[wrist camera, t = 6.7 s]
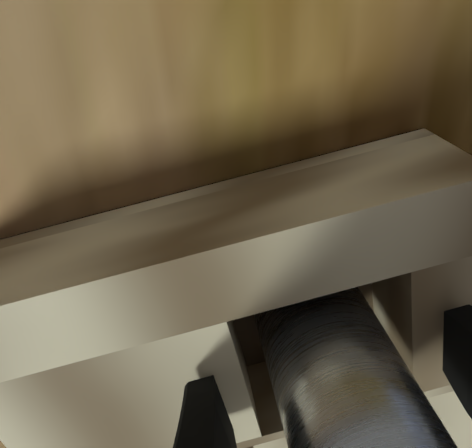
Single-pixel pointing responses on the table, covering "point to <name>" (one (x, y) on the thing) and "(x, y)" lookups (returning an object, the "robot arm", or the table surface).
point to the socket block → (229, 293)
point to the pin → (344, 378)
